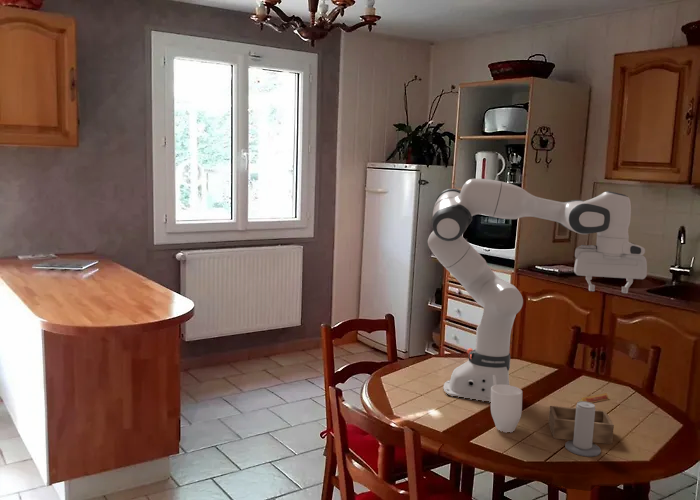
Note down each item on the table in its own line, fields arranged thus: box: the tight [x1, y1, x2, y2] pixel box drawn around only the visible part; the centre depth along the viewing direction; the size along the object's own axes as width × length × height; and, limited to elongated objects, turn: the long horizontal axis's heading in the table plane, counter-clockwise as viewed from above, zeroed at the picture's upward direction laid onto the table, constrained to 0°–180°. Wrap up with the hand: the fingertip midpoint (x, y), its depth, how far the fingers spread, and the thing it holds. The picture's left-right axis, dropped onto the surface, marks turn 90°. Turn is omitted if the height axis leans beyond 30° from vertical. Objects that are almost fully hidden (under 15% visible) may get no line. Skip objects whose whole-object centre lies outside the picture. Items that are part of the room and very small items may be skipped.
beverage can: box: [573, 400, 596, 450], centre depth 169 cm, size 5×5×12 cm
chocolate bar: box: [578, 392, 610, 403], centre depth 207 cm, size 3×12×2 cm, turn 118°
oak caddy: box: [548, 405, 615, 445], centre depth 180 cm, size 16×11×6 cm
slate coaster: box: [564, 440, 602, 458], centre depth 170 cm, size 9×9×1 cm
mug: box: [490, 384, 523, 433], centre depth 182 cm, size 12×9×12 cm
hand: (607, 291), depth 189 cm, fingers open, 8 cm apart
